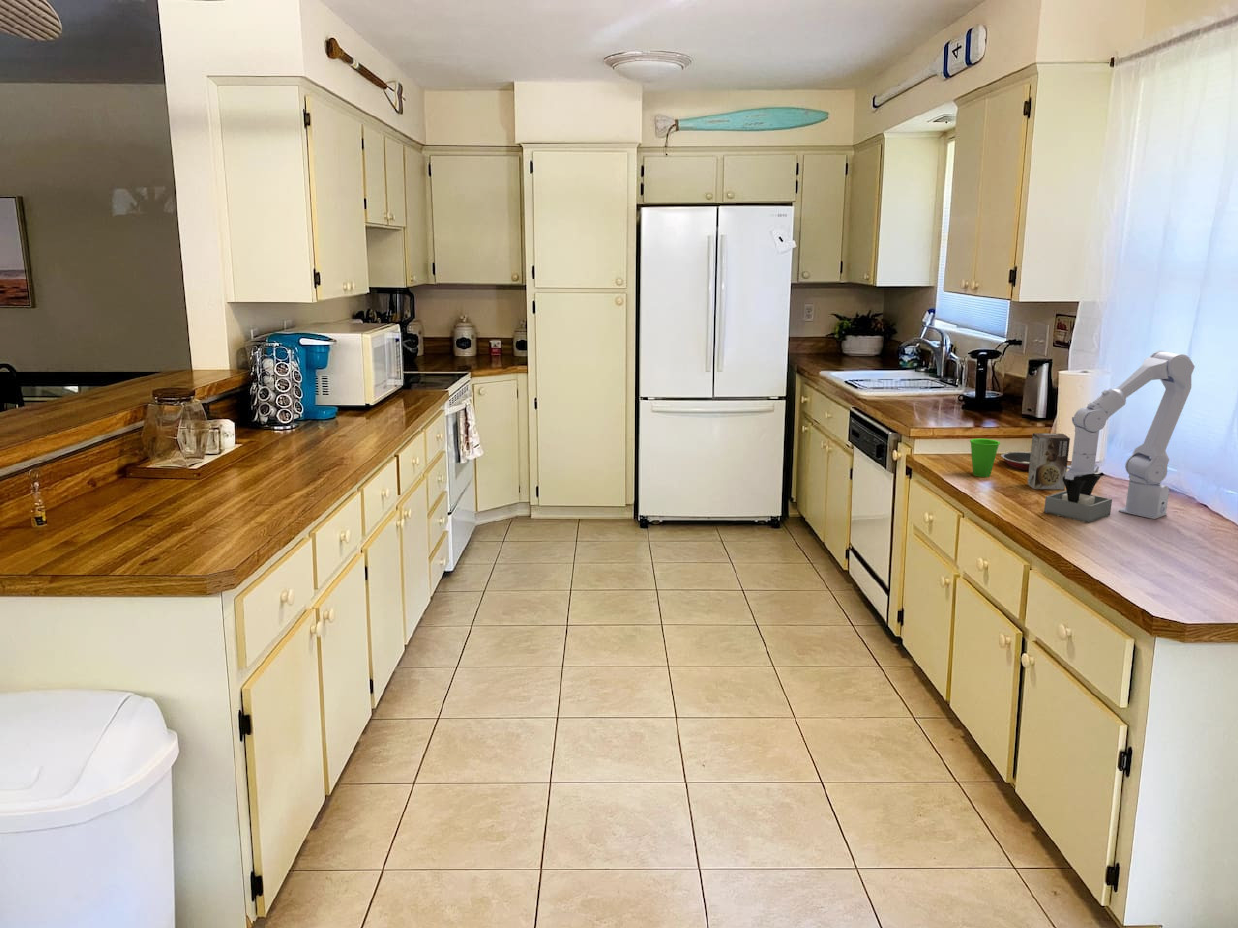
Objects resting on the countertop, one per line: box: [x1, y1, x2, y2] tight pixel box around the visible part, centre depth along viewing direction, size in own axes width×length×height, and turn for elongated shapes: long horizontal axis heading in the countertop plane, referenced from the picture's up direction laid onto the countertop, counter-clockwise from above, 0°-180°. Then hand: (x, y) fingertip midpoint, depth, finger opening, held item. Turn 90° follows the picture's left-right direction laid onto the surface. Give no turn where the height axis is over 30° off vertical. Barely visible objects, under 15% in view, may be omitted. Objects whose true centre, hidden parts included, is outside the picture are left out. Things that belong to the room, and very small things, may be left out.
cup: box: [969, 438, 1001, 478], centre depth 295 cm, size 9×9×11 cm
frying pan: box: [1000, 451, 1031, 472], centre depth 302 cm, size 19×32×4 cm, turn 177°
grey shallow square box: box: [1043, 490, 1113, 524], centre depth 254 cm, size 12×12×4 cm
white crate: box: [1062, 493, 1095, 506], centre depth 254 cm, size 6×5×4 cm
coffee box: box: [1027, 432, 1071, 491], centre depth 281 cm, size 9×6×16 cm
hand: (1078, 501), depth 254 cm, fingers open, 6 cm apart
